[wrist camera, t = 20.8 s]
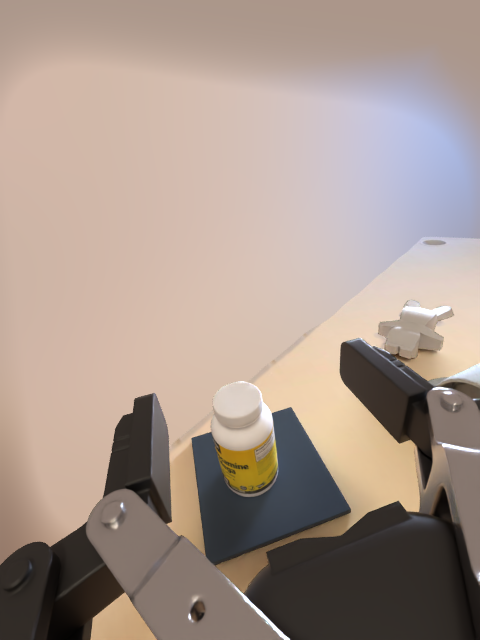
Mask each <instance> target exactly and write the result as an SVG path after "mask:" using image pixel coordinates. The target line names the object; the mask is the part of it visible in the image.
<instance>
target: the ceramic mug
mask: <svg viewBox="0 0 480 640" xmlns="http://www.w3.org/2000/svg"><path fill="white" fill-rule="evenodd" d="M428 382H429V383H431V384H432V385H433V386H435V387H436V388H450V389H454V390H457V391H460V392H462V393H464V394H466V395H467V396H469V397H470V398H471V399H480V364H477V365H475V366H473V367H471V368H469V369H467V370H465V371H463V372H460V373H458V374H456V375H454V376H451V377H446V378H437V379H433V380H430V381H428Z"/></svg>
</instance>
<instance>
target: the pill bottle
mask: <svg viewBox="0 0 480 640" xmlns="http://www.w3.org/2000/svg"><path fill="white" fill-rule="evenodd" d="M213 409H214V415H213V417H212V420H211V432H212V437H213V440H214V444H215V447H216V451H217V455H218V458H219V462H220V466H221V470H222V473H223V477H224V479H225V482H226V484H227V485H228V487H229V488H230V489H231V490H232V491H233V492H235V493H236V494H238V495H240V496H244V497H255V496H259V495H261V494H263V493H265V492H266V491H267V490H269V489H270V488H271V487H272V485H273V484H274V482H275V481H276V478H277V475H278V459H277V451H276V442H275V434H274V426H273V419H272V414H271V412H270V410H269V408H268V407H267V406H266V405H265V404H264V403H263V401H262V395H261V392H260V390H259V389H258V388H257V387H256V386H254V385H253V384H250V383H247V382H234V383H230V384H227V385H225V386H223V387H222V388H221V389H219V390H218V391H217V393H216V394H215V396H214V398H213Z"/></svg>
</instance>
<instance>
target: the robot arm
mask: <svg viewBox="0 0 480 640" xmlns="http://www.w3.org/2000/svg"><path fill="white" fill-rule="evenodd" d="M340 375H341V378H342V381H343V382H344V384H345V385H346V386H347V387H348V388H349V389H350V390H351V392H352V393H353V394H354V395H355V396H356V397H357V398H358V399H359V400H360V401H361V402H362V404H363V405H364V406H365V407H366V408H367V409H368V410H369V411H370V412H371V413H372V414H373V416H374V417H375V418H376V419H377V420H378V421H379V422H380V423H381V424H382V425H383V426H384V428H385V429H386V430H387V431H388V432H389V433H390V434H391V435H392V436H393V437H394V438H395V440H396V441H397V442H398V443H399V444H400V443H403V442H405V441H408V440H412V441H413V442H414V443H415V447H414V454H415V462H416V470H417V478H418V485H419V493H420V509H419V512H407V511H406V510H405V509H404V507H403V506H402V505H401V503H400V502H399V501H397V502H394V503H392V504H389V505H386V506H384V507H381V508H379V509H376V510H374V511H371V512H368V513H367V514H366V515H365V516H364V517H362V518H361V519H360V520H359V521H358V522H357V523H356V524H354V525H353V526H352V527H351V528H350V529H349V530H347V531H346V532H345V533H344V534H343V535H341V536H337V537H320V538H303V539H299V540H296V541H294V542H291V543H288V544H286V545H283V546H281V547H278V548H276V549H273V550H270V551H268V552H266V553H267V558H268V565H267V566H266V567H264V568H263V569H262V570H261V571H260V572H259V573H258V574H257V575H256V577H255V578H254V579H253V580H252V582H251V583H250V585H249V586H248V588H247V590H246V592H245V593H244V594H243V593H242V592H241V591H240V590H239V589H238V588H237V587H236V586H235V585H234V584H233V583H232V582H231V581H230V580H229V579H228V578H227V577H226V576H225V575H223V574H222V573H221V572H220V571H219V570H218V569H217V568H216V567H215V566H214V565H213V564H212V563H211V562H210V561H209V560H208V559H207V558H206V557H205V556H204V555H203V554H202V553H201V552H200V551H199V550H198V549H197V548H196V547H195V546H194V545H193V544H192V543H191V542H190V541H189V540H188V539H187V538H185V537H184V536H182V535H181V536H178V535H177V534H175V533H174V532H173V531H172V530H171V529H170V528H169V527H168V526H167V525H166V524H167V523H170V522H172V517H171V490H170V463H169V436H168V429H167V424H166V421H165V418H164V415H163V412H162V409H161V407H160V404H159V401H158V398H157V396H156V394H155V393H153V394H149V395H145V396H142V397H138V398H135V400H134V408H133V413H131V414H127V415H124V416H123V417H122V418H121V420H120V422H119V423H118V425H117V427H116V429H115V434H114V440H113V441H114V443H113V446H112V453H111V457H110V462H109V468H108V474H107V480H106V485H105V491H104V495H103V499H102V500H100V501H99V502H98V503H97V505H96V506H95V507H94V509H93V510H92V512H91V513H90V515H89V518H88V521H87V522H86V523H85V524H84V525H83V526H81V527H80V528H79V529H77V530H76V531H74V532H73V533H71V534H70V535H68V536H66V537H65V538H64V539H62V540H60V541H59V542H57V543H56V544H54V545H53V546H51V547H49V546H48V545H47V544H46V543H43V542H33V543H30V544H27V545H25V546H23V547H21V548H20V549H18V550H17V551H15V552H14V553H13V554H12V555H10V556H9V557H8V558H7V559H6V560H5V561H4V562H3V563H2V564H1V565H0V640H90V639H91V629H92V620H93V617H94V616H96V615H97V614H98V613H99V612H101V611H102V610H103V609H104V608H106V607H107V606H108V605H109V604H111V603H112V602H113V601H114V600H116V599H117V598H118V597H119V596H121V595H122V594H123V593H124V592H126V594H127V595H128V597H129V598H130V600H131V602H132V604H133V605H134V607H135V608H136V610H137V611H138V612H139V614H140V615H141V617H142V618H143V620H144V621H145V623H146V624H147V626H148V627H149V628H150V630H151V631H152V633H153V634H154V636H155V637H156V639H157V640H480V399H471V398H470V397H469V396H467V395H466V394H464V393H462V392H460V391H457V390H454V389H450V388H436V387H435V386H433V385H432V384H431V383H429V382H428V381H427V380H425V379H424V378H422V377H421V376H420V375H418V374H417V373H416V372H414V371H413V370H412V369H410V368H409V367H408V366H405V364H404V363H402V362H401V361H400V360H397V358H396V357H394V356H393V355H392V354H390V353H389V352H388V351H385V350H383V349H380V348H378V347H375V346H373V347H372V346H370V345H369V344H368V343H367V342H365V341H364V340H363V339H361V338H357V339H354V340H350V341H346V342H343V343H342V344H341V353H340Z"/></svg>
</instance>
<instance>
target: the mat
mask: <svg viewBox="0 0 480 640" xmlns="http://www.w3.org/2000/svg"><path fill="white" fill-rule="evenodd" d="M271 414H272V419H273V426H274V434H275V442H276V451H277V459H278V475H277V478H276V481H275V482H274V484H273V485H272V487H271V488H270V489H269V490H267V491H266V492H265V493H263V494H261V495H259V496H255V497H244V496H240V495H238V494H236V493H235V492H233V491H232V490H231V489H230V488H229V487H228V485H227V484H226V482H225V479H224V477H223V473H222V470H221V466H220V462H219V458H218V455H217V451H216V447H215V444H214V440H213V437H212V432H210V433H206V434H203V435H200V436H197V437H194V438H192V447H193V455H194V463H195V471H196V479H197V487H198V496H199V504H200V512H201V520H202V528H203V536H204V544H205V552H206V558H207V559H208V560H209V561H210V562H211V563H212V564H213V565H217V564H219V563H222V562H224V561H227V560H230V559H232V558H235V557H237V556H240V555H242V554H245V553H248V552H250V551H253V550H255V549H258V548H260V547H263V546H266V545H268V544H271V543H273V542H276V541H279V540H281V539H284V538H286V537H289V536H291V535H294V534H297V533H299V532H302V531H304V530H307V529H309V528H312V527H315V526H317V525H320V524H322V523H325V522H328V521H330V520H333V519H335V518H338V517H340V516H343V515H346V514H348V513H350V512H351V509H350V507H349V505H348V504H347V502H346V500H345V498H344V497H343V495H342V493H341V492H340V490H339V488H338V486H337V485H336V483H335V481H334V480H333V478H332V476H331V475H330V473H329V471H328V469H327V468H326V466H325V464H324V463H323V461H322V459H321V457H320V456H319V454H318V452H317V451H316V449H315V447H314V446H313V444H312V442H311V440H310V439H309V437H308V435H307V434H306V432H305V430H304V428H303V427H302V425H301V423H300V422H299V420H298V418H297V417H296V415H295V413H294V411H293V410H292V408H291V407H290V408H287V409H284V410H280V411H277V412H274V413H271Z"/></svg>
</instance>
